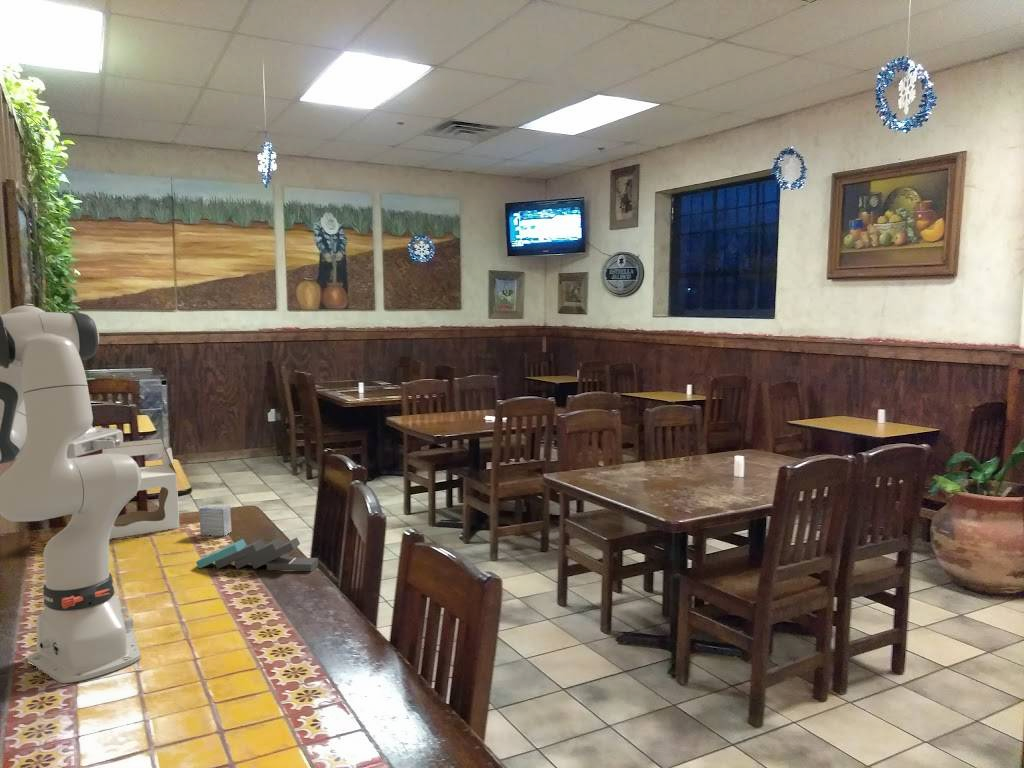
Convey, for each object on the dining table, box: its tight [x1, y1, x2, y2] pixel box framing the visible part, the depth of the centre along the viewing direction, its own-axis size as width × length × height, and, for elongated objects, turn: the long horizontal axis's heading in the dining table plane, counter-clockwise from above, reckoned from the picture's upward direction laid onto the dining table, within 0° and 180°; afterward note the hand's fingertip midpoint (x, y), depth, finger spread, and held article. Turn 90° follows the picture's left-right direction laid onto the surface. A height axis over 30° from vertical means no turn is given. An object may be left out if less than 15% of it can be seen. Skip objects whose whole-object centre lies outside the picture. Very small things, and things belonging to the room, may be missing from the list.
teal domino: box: [195, 538, 248, 569], centre depth 191 cm, size 2×5×12 cm
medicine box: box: [198, 504, 232, 537], centre depth 219 cm, size 8×4×9 cm, turn 84°
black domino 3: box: [250, 537, 301, 570], centre depth 191 cm, size 2×5×12 cm
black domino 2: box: [233, 537, 284, 570], centre depth 191 cm, size 2×5×12 cm
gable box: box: [100, 438, 180, 540], centre depth 223 cm, size 22×13×28 cm, turn 124°
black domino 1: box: [213, 538, 265, 570], centre depth 191 cm, size 2×5×12 cm
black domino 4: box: [266, 556, 319, 571], centre depth 190 cm, size 2×5×12 cm
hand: (117, 443), depth 180 cm, fingers closed
